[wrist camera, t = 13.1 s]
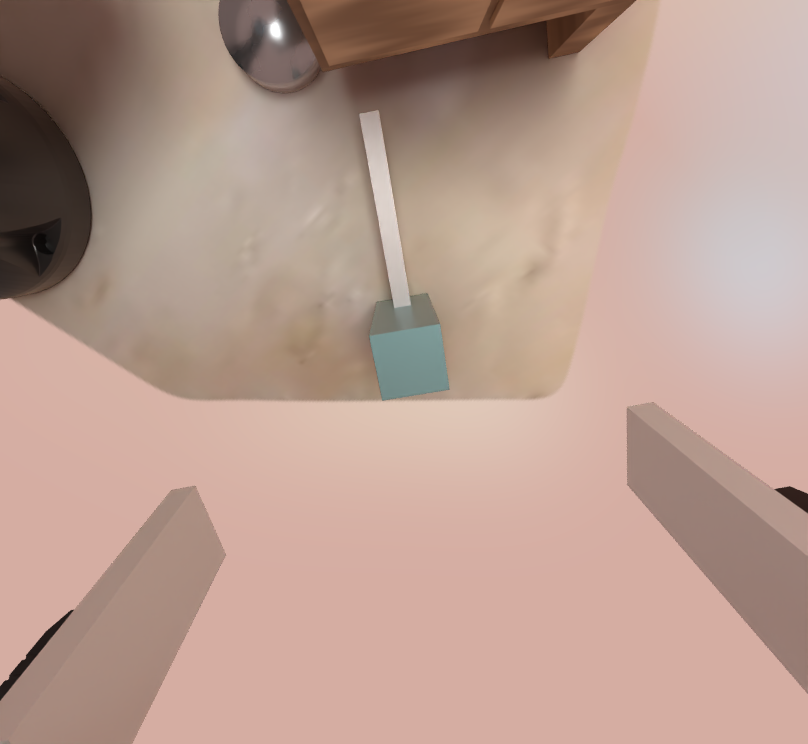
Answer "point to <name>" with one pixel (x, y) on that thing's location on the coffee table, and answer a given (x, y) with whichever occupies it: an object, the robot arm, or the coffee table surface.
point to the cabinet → (441, 24)
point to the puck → (268, 43)
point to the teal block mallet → (400, 297)
